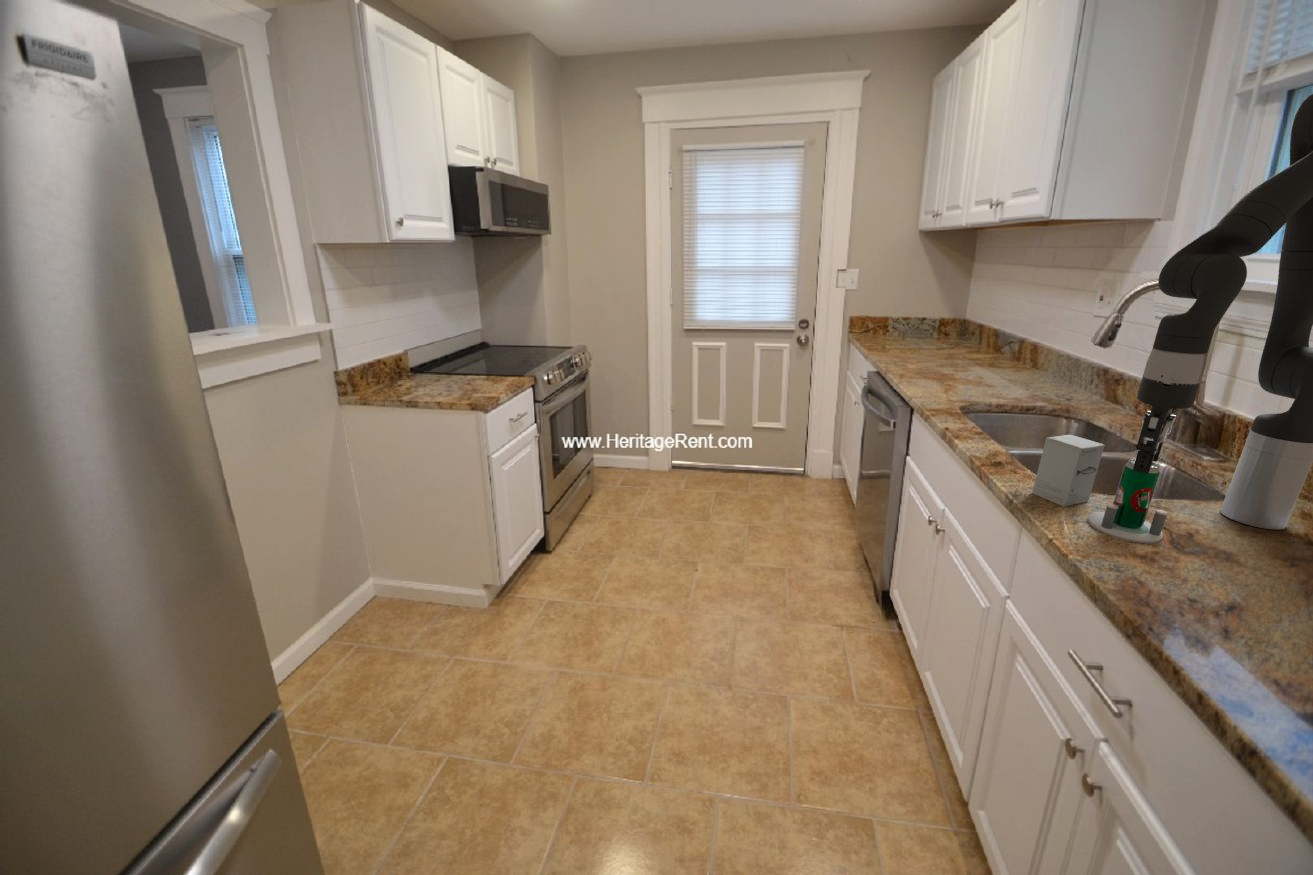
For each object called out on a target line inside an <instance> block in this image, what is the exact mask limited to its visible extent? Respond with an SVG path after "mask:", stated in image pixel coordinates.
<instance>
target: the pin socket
mask: <svg viewBox="0 0 1313 875" xmlns="http://www.w3.org/2000/svg"><path fill="white" fill-rule="evenodd" d="M1118 507H1119V506H1117V505H1115V504H1113V503H1106V508H1105V511H1095V512H1091V513H1090V514H1089V515H1088V519H1087V522H1088V524H1089V525H1090V526H1091V527H1092V528H1094V529H1095V530H1097V531H1099V532H1100V533H1103V534H1105V535H1107V536H1110V537H1113V538H1116V539H1118V540H1122V541H1128V542H1130V543H1131V542H1133V543H1138V544H1157V543H1159V542H1161V541H1162V539H1163V537H1164V532H1163V528H1164V525H1165V522H1166V519H1167V516H1168V514H1169V513H1168V512H1167V511H1165V510H1162V509H1155V511H1154V515H1153V517H1152V521H1151V523H1150V522H1148V521H1146V520H1145V522H1144V525H1143V526H1142V527H1140V528H1137V529H1131V528H1125V527H1122V526H1119V525H1117V524H1115V523H1113V522H1114V519H1115V516H1116V513H1117V509H1118Z"/></svg>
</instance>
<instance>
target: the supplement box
mask: <svg viewBox="0 0 1313 875" xmlns="http://www.w3.org/2000/svg"><path fill="white" fill-rule="evenodd" d="M1104 449H1105V444H1103V443H1101V442H1097V441H1094V440H1089V439H1087V438H1085V437H1084V438H1083V437H1080V436H1076V435H1073V434H1064V435H1057V436H1056V435H1055V436H1048V437H1045V441H1044V446H1043V450H1042V453H1041V456H1040V457H1041V458H1040V460H1039V463H1038V464H1039V465H1038V469H1037V473H1036V476H1035V480H1034V484H1033V489H1032V492H1031V493H1032V494H1034V495H1035V496H1037V497H1039V498H1042V499H1045V500H1047V501H1050V502H1052V503H1054V504H1057V505H1058V506H1062V507H1069V506H1072V505H1073V506H1074V505H1077V504H1083V503H1088V502H1089V500H1090V496H1091V493H1092V490H1093V486H1094V483H1095V480H1096V475H1097V473H1098V470H1099V467H1100V463H1101V459H1102V456H1103V452H1104Z"/></svg>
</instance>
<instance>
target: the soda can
mask: <svg viewBox="0 0 1313 875" xmlns="http://www.w3.org/2000/svg"><path fill="white" fill-rule="evenodd" d="M1135 460H1136V458H1130V459H1129V460H1128V462H1127V463H1125V464H1124V466H1123V469H1122V473H1121V477H1120V479H1119V483H1118V486H1117V489H1116V493H1115V496H1114V500H1113V502H1112V504H1115V505H1117V506H1119V507H1118V509H1117V513H1116V516H1115V519H1114V522H1113V523H1115V524H1117V525H1119V526H1122V527H1125V528H1131V529H1137V528H1140V527H1142V526H1143V525H1144V522H1145V521H1146V518H1147V516H1148V515H1147V514H1148V512H1149V509H1150V506H1151V503H1152V499H1153V496H1154V493H1155V490H1156V488H1157V484H1158V482H1159V478H1160V475H1161V470H1160V465H1159V464H1157V463H1155V462H1154V461H1153V462H1152V465H1151V468H1150V471H1149V473H1147V474H1144V473H1139V472H1135V471H1134V470H1133V467H1134V464H1135Z"/></svg>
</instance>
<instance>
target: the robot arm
mask: <svg viewBox="0 0 1313 875" xmlns="http://www.w3.org/2000/svg"><path fill="white" fill-rule="evenodd" d="M1290 129H1291V130H1290V135H1289V136H1290V137H1289V166H1288V167H1286V168H1284V169H1281V171H1279V172H1277V173H1276V174H1274V175H1272V176H1271V177H1268V178H1267V179H1266V180H1263V182H1261V183H1259V184H1258V185H1257V186H1255V187H1254V188H1252V189H1251V190H1250V191H1249V192H1246V194H1245V195H1244V196H1242V197H1241V199H1239V200H1238V201H1237V202H1236V203H1235V204H1234V205H1233V207H1232V208H1231V209H1230V210H1229V211H1228V212H1227V213H1226V214H1225V215H1224V216H1223V217H1222V219H1220V221H1219V222H1217V224H1216V225H1215V226H1214V227H1212V228H1211V229H1208V230H1207V231H1205V232H1204V233H1203V234H1201V235H1200V236H1198V237H1196V238H1195V239H1194V240H1193V241H1191V242H1189V243H1188V244H1186V246H1184V247H1183V248H1181V249H1180V250H1178V251H1177V252H1175V254H1173V255H1172V256H1171V257H1170V258H1169V259H1168V261H1166V263H1164V265H1163V267H1162V269H1161V271H1160V273H1159V276H1158V287H1159V290H1160V291H1161V293H1163V294H1164V295H1165V296H1169V297H1173V298H1177V299H1178V298H1181V299H1192V300H1195V302H1194V303H1193V305H1192V306H1190V308H1189V309H1188V310H1187V311H1186V312H1177V313H1169V314H1167V315H1164V316H1163V317H1162V318H1161V319H1160V322H1159V324H1158V328H1157V332H1156V334H1155V337H1154V341H1153V344H1152V348H1151V351H1150V354H1149V356H1148V358H1147V360H1146V364H1145V367H1144V370H1143V374H1142V377H1141V380H1140V384H1139V388H1138V392H1137V395H1136V399H1137V401H1138V402H1139V403H1141V404H1144V405H1149V406H1151V409H1150V410H1147V412H1146V413H1144V415H1143V417H1142V425H1141V428H1140V430H1139V432H1138V441H1137V443H1136V445H1135V450H1136V451H1137V453H1136V457H1135V459H1136V460H1135V464H1134V467H1133V470H1134V471H1135V472H1139V473H1144V474H1147V473H1149V471H1150V468H1151V465H1152V462H1153V463H1154V462H1157V461H1158V460H1159V458H1160V455H1161V452H1162V451H1161V450H1162V448H1163V445H1164V443H1165V441H1166V440H1167V438H1168V437H1167V436H1169V435H1170V434H1171V431H1172V429H1173V428H1172V427H1173V425H1174V424H1175V421H1176V420H1177V419H1176V418H1177V415H1176V414H1175V411H1176V410H1187V409H1190V408H1192V407H1194V404H1195V401H1196V397H1197V394H1198V391H1199V388H1200V385H1201V382H1202V378H1203V376H1204V372H1205V368H1206V363H1207V356H1208V352H1209V349H1210V345H1211V343H1212V341H1213V340H1212V339H1213V337H1214V336H1213V335H1214V333H1215V330H1216V328H1217V326H1218V325H1219V323H1220V322H1221V320H1222V318H1223V317H1224V316H1225V314H1226V312H1227V311H1228V310H1229V308H1230V307H1231V305H1232V304H1233V302H1234V301H1235V299H1236V298H1237V296H1238V295H1239V293H1240V292H1241V290H1242V289H1243V287H1244V285H1245V284H1246V280H1247V276H1248V269H1247V265H1246V262H1245V261H1244V259H1243V257H1248V256H1250V255H1251V256H1252V255H1253V254H1255V253H1257V252H1259V251H1260V250H1261V249H1262V248H1263V247H1264V246H1265V245H1266V244H1267V243H1268V242H1269V241H1270V240H1271V239H1272V238H1273V237H1274V236H1275V235H1276V234H1277V233H1278V231H1279V230H1281V229H1282V228H1283V226H1284V225H1285V227H1284V228H1285V229H1284V232H1283V233H1284V234H1283V239H1282V242H1281V244H1282V245H1281V251H1280V256H1279V265H1278V277H1277V278H1278V279H1277V285H1276V293H1275V298H1274V305H1273V309H1272V314H1271V319H1270V325H1269V328H1268V333H1267V336H1266V338H1265V342H1264V346H1263V350H1262V353H1261V358H1260V360H1259V361H1260V362H1259V364H1258V365H1259V366H1258V371H1257V372H1258V373H1257V374H1258V375H1257V376H1258V379H1257V380H1258V384H1259V386H1260V388H1262V390H1264V391H1265V392H1266V393H1268V394H1272V395H1276V396H1280V397H1285V398H1290V399H1292V400H1293V402H1292V404H1291V406H1290V407H1289V409H1288V410H1286V411H1284V412H1280V413H1279V412H1278V413H1262V414H1259V415H1257V416H1256V417H1255V418H1254V419H1253V422H1252V425H1251V427H1250V429H1249V432H1248V434H1247V438H1246V441H1245V444H1244V447H1243V449H1242V452H1241V455H1240V457H1239V460H1238V462H1237V465H1236V468H1235V471H1234V473H1233V476H1232V479H1231V480H1230V481H1231V482H1230V484H1229V486H1228V489H1227V492H1226V494H1225V497H1224V500H1223V503H1222V504H1221V509H1220V513H1221V514H1222V515H1223V516H1225V517H1226V518H1228V519H1230V520H1233V521H1236V522H1238V523H1241V524H1244V525H1248V526H1251V527H1257V528H1261V529H1266V530H1267V529H1268V530H1275V531H1276V530H1284V529H1286V527H1287V525H1288V523H1289V520H1290V519H1291V515H1292V514H1293V510H1294V508H1295V507H1296V506H1295V505H1296V503H1297V501H1298V499H1299V496H1300V493H1301V492H1302V489H1303V487H1304V484H1305V482H1306V479H1307V477H1308V474H1309V472H1310V469H1311V467H1312V465H1313V347H1310V337H1311V332H1312V328H1313V92H1312V93H1310V94H1309V95H1307V97H1305V99H1303V101H1302V102H1301V103H1300V105H1299V106H1298V108H1297V109H1296V111H1295V114H1294V117H1293V119H1292V124H1291V128H1290ZM1145 441H1146V442H1145Z"/></svg>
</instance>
